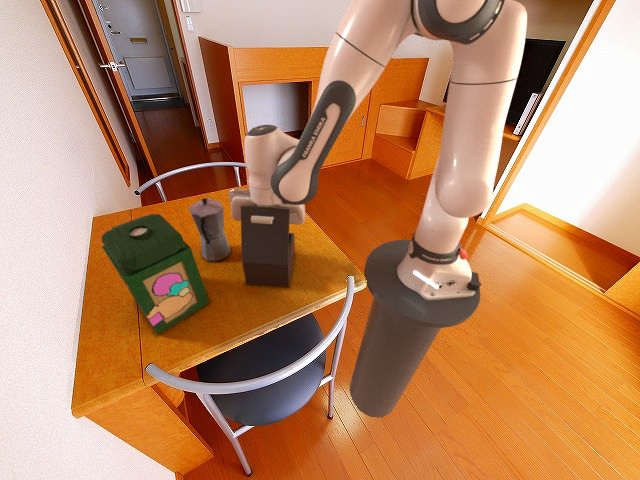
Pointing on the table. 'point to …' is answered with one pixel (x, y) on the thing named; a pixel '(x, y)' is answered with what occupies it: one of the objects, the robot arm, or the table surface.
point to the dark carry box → (271, 270)
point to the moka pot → (211, 228)
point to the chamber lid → (265, 235)
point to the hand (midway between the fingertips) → (270, 232)
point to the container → (156, 269)
